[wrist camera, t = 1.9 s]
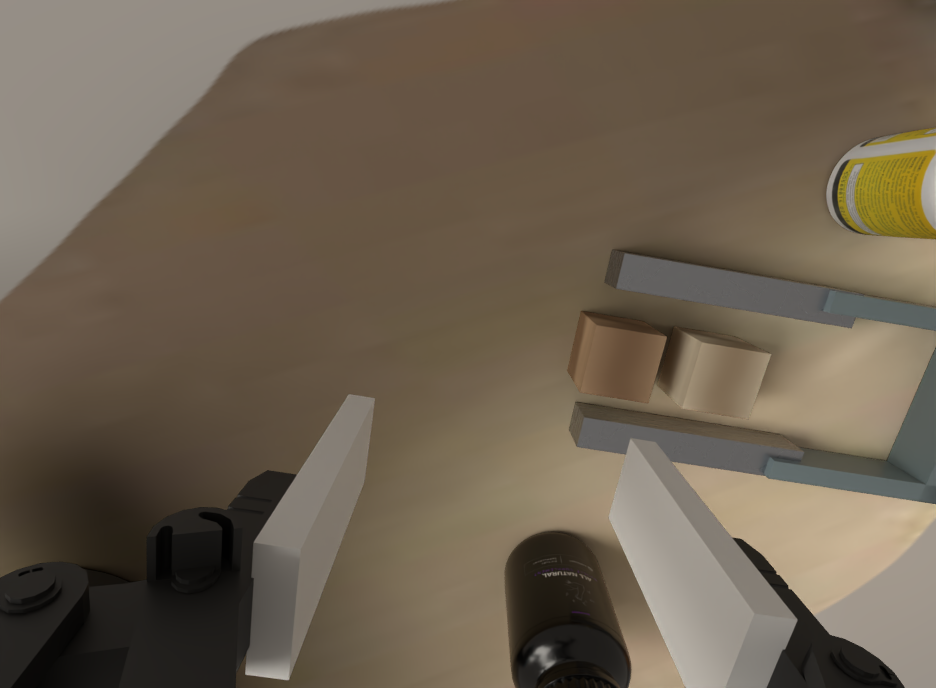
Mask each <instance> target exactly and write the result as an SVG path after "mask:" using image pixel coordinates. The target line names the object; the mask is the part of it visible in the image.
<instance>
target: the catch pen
mask: <svg viewBox="0 0 936 688" xmlns="http://www.w3.org/2000/svg"><path fill="white" fill-rule="evenodd" d="M823 311H825V312H828V313H834V314H840V315H846V316H852V317H857V318H863V319H869V320H875V321H881V322H887V323H893V324H899V325H905V326H911V327H916V328H922V329H928V330H934V331H936V307H933V306H928V305H922V304H916V303H910V302H904V301H898V300H893V299H887V298H881V297H875V296H869V295H864V296H860V295H854V294H848V293H843V292H837V291H831V290H830V293H829V296H828V298H827V301H826V304H825V307H824V309H823ZM798 448H800V449H801V450H802V451H804V454H803V457H802V460H801V462H798V461H791V460H785V459H778V458H772V457H770V458H769V461H768V463H767V466H766V469H765V472H764V475H765V476H766V477H767V478H769V479H776V480H782V481H789V482H795V483H802V484H808V485H815V486H821V487H828V488H834V489H841V490H847V491H854V492H860V493H867V494H873V495H880V496H886V497H893V498H899V499H906V500H912V501H919V502H925V503H932V504H936V348H935V350H934V353H933V355H932V357H931V360H930V362H929V364H928V367H927V369H926V371H925V374H924V376H923V378H922V380H921V383H920V385H919V387H918V390H917V392H916V394H915V397H914V399H913V401H912V404H911V406H910V408H909V410H908V413H907V415H906V417H905V420H904V422H903V424H902V427H901V429H900V431H899V434H898V436H897V438H896V440H895V443H894V445H893V447H892V450H891V452H890V454H889V457H888V459H887V461H884V460H878V459H872V458H865V457H859V456H853V455H846V454H840V453H833V452H827V451H821V450H814V449H808V448H802V447H798Z"/></svg>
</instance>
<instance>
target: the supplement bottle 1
mask: <svg viewBox="0 0 936 688" xmlns="http://www.w3.org/2000/svg"><path fill="white" fill-rule="evenodd" d="M505 594H506V607H507V621H508V635H509V649H510V662H511V672H512V679H513V682H514V685H515V688H628V687H629V683H630V679H631V661H630V656H629V653H628V650H627V646H626V643H625V640H624V638H623V635H622V632H621V629H620V626H619V623H618V620H617V617H616V614H615V611H614V608H613V605H612V602H611V599H610V596H609V593H608V590H607V587H606V585H605V582H604V579H603V576H602V573H601V570H600V567H599V565H598V562H597V560H596V557H595V555H594V554H593V552H592V551H591V550H590V548H589V547H588V546H587V545H586V544H585V543H583V542H582V541H580V540H579V539H577V538H575V537H573V536H571V535H568V534H564V533H558V532H547V533H541V534H537V535H534V536H531V537H529V538H527V539H526V540H524V541H523V542H521V543H520V544H519V545H518V546H517V547H516V548H515V549H514V550H513V551H512V553H511V554H510V556H509V558H508V560H507V563H506V567H505Z"/></svg>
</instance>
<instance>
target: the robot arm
mask: <svg viewBox="0 0 936 688" xmlns="http://www.w3.org/2000/svg"><path fill="white" fill-rule="evenodd" d="M374 403H375V398H370V397H364V396H357V395H351V394H349V395H348V396H347V398H346V400H345V401H344V403H343V404H342V406H341V407H340V409H339V410H338V412H337V414H336V415H335V417H334V418H333V420H332V421H331V423H330V424H329V426H328V428H327V429H326V431H325V432H324V434H323V435H322V437H321V438H320V440H319V441H318V443H317V445H316V446H315V448H314V449H313V451H312V452H311V454H310V455H309V457H308V459H307V460H306V462H305V463H304V465H303V466H302V468H301V469H300V471H299V473H298V474H297V475H296V474H289V473H282V472H275V471H269V470H267V471H266V472H264V473H262V474H260V475H259V476H257V477H255V478H253V479H251V480H250V481H248V483H247V484H246V485H245V486H244V488H243V489H242V490H241V491H240V493H239V494H238V496H237V498H235V499H234V500H233V501H232V503H231V504H230V505H229V506H228V509H227V510H223V509H220V508H208V507H199V508H194V509H188V510H183V511H180V512H178V513H175V514H173V515H170V516H168V517H166V518H164V519H163V520H162V521H160V522H159V523H157V524H156V525H155V526H153V528H152V530H151V531H150V533H149V534H148V536H147V579H146V580H143V581H137V582H131V583H130V582H128V581H125V580H123V579H121V578H118V577H115V576H112V575H109V574H106V573H102V572H98V571H93V570H86V569H82V568H81V567H79V566H78V565H77V564H71V563H65V562H50V563H40V564H36V565H32V566H29V567H25V568H21V569H18V570H16V571H13V572H11V573H9V574H7V575H5V576H3V577H1V578H0V688H236V672H237V670H238V668H239V666H240V664H241V662H242V660H243V658H244V656H245V654H246V652H247V656H246V672H245V675H252V676H259V677H267V678H275V679H282V680H289V678H290V676H291V673H292V671H293V668H294V665H295V663H296V660H297V657H298V655H299V652H300V650H301V647H302V644H303V642H304V639H305V636H306V634H307V631H308V629H309V626H310V623H311V621H312V618H313V615H314V613H315V610H316V608H317V605H318V602H319V600H320V597H321V594H322V592H323V589H324V587H325V584H326V581H327V579H328V576H329V573H330V571H331V568H332V566H333V563H334V560H335V558H336V555H337V552H338V550H339V547H340V544H341V542H342V539H343V537H344V534H345V531H346V529H347V526H348V523H349V521H350V518H351V516H352V513H353V510H354V508H355V505H356V502H357V500H358V497H359V495H360V492H361V489H362V487H363V484H364V481H365V474H366V466H367V458H368V450H369V442H370V434H371V426H372V419H373V411H374ZM609 520H610V522H611V524H612V526H613V529H614V531H615V533H616V535H617V537H618V540H619V542H620V544H621V546H622V548H623V551H624V553H625V555H626V557H627V559H628V562H629V564H630V566H631V568H632V570H633V573H634V575H635V577H636V579H637V582H638V584H639V586H640V588H641V590H642V593H643V595H644V597H645V599H646V601H647V604H648V606H649V608H650V610H651V612H652V615H653V617H654V619H655V621H656V623H657V626H658V628H659V630H660V632H661V635H662V637H663V639H664V641H665V643H666V646H667V648H668V650H669V652H670V654H671V657H672V659H673V661H674V663H675V665H676V668H677V670H678V672H679V674H680V676H681V679H682V681H683V683H684V685H685V688H904V686H903V684H902V683H901V681H900V680H899V679H898V677H897V676H896V675H895V673H894V672H893V671H892V670H891V669H890V668H889V667H887V666H886V665H885V664H884V663H883V662H882V661H881V660H880V659H879V658H877V657H876V656H874V655H873V654H871V653H870V652H868V651H867V650H865V649H864V648H862V647H860V646H858V645H856V644H854V643H852V642H850V641H848V640H846V639H843V638H839V637H835V636H832V635H830V634H829V633H828V632H827V631H826V630H825V629H824V627H823V626H822V625H821V624H820V623H819V621H818V620H817V619H816V618H815V617H814V616H813V614H812V613H811V612H810V611H809V610H808V608H807V607H806V606H805V605H804V604H803V603H802V601H801V600H800V599H799V598H798V597H797V595H796V594H795V593H794V592H793V591H792V590H791V589H788V585H787V584H786V583H785V581H784V580H783V579H782V578H781V577H780V575H777V574H776V571H775V570H774V568H773V567H772V566H771V565H770V564H769V562H768V561H767V560H766V559H765V558H764V557H763V555H762V554H760V553H759V552H758V551H756V550H755V549H754V548H752V547H751V546H750V545H749V544H747V543H746V542H745V541H743V540H742V539H738V538H732V537H731V536H730V535H729V533H728V532H727V531H726V530H725V528H724V527H723V526H722V525H721V523H720V522H719V521H718V520H717V518H716V517H715V516H714V515H713V513H712V512H711V511H710V510H709V508H708V507H707V506H706V505H705V503H704V502H703V501H702V500H701V498H700V497H699V496H698V495H697V493H696V492H695V491H694V490H693V488H692V487H691V486H690V485H689V483H688V482H687V481H686V480H685V478H684V477H683V476H682V475H681V473H680V472H679V471H678V470H677V468H676V467H675V466H674V465H673V463H672V462H671V461H670V460H669V458H668V457H667V456H666V455H665V453H664V452H663V451H662V450H661V448H660V447H659V446H658V445H657V443H656V442H652V441H646V440H640V439H633V438H630V442H629V446H628V449H627V453H626V456H625V460H624V464H623V467H622V471H621V474H620V478H619V481H618V485H617V489H616V492H615V496H614V499H613V503H612V507H611V510H610V514H609Z"/></svg>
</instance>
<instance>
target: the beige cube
mask: <svg viewBox="0 0 936 688" xmlns="http://www.w3.org/2000/svg"><path fill="white" fill-rule="evenodd" d="M770 357H771V354H770V353H768V352H766V351H764V350H762V349H760V348H758V347H756V346H754V345H751V344H749V343H747V342H745V341H743V340H741V339H739V338H737V337H735V336H729V335H723V334H717V333H711V332H705V331H699V330H693V329H687V328H681V327H676V326H674V328H673V332H672V335H671V339H670V342H669V346H668V349H667V352H666V356H665V359H664V363H663V366H662V370H661V373H660V377H659V380H658V384H657V386H659V387H660V388H661V389H662V390H663V391H664V392H665V393H666V394H667V395H668V396H669V397H670V398H671V399H672V400H673V401H674V402H675V403H676V404H678V405H679V406H680V407H681V408H682V409H687V410H693V411H700V412H706V413H712V414H718V415H724V416H730V417H737V418H743V419H749V417H750V415H751V412H752V409H753V406H754V403H755V400H756V397H757V394H758V391H759V389H760V386H761V383H762V380H763V377H764V374H765V371H766V368H767V366H768V363H769V360H770Z"/></svg>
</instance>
